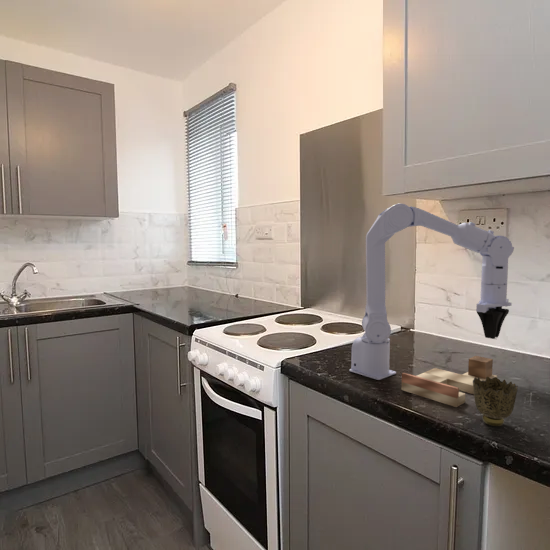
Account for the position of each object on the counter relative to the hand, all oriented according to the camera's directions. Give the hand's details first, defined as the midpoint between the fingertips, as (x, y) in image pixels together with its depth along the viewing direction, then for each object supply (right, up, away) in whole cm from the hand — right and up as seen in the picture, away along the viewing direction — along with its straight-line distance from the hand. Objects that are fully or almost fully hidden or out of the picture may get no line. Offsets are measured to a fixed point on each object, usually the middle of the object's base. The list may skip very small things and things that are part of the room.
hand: (491, 337), depth 101 cm
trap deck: (-13, -11, -5) cm, 17 cm away
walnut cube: (-5, -9, -3) cm, 10 cm away
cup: (-13, -13, -25) cm, 31 cm away
